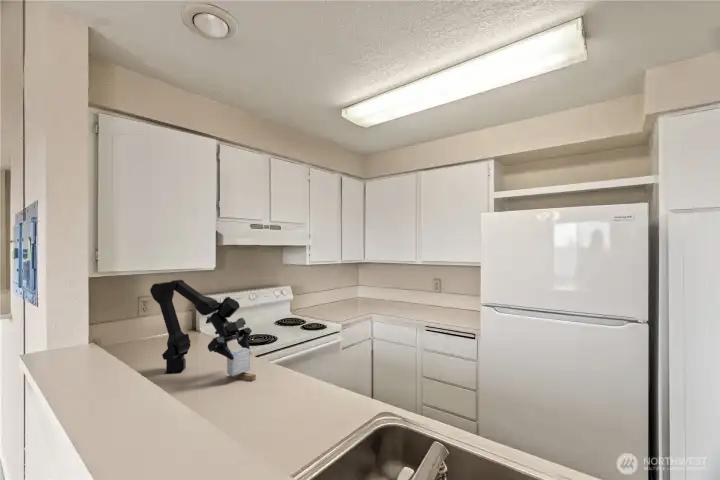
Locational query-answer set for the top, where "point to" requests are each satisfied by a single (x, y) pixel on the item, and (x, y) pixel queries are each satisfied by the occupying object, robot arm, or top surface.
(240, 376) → the walnut tipping strip
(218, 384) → the top surface
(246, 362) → the medicine box
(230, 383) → the top surface
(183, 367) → the robot arm
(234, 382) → the top surface
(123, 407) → the top surface
